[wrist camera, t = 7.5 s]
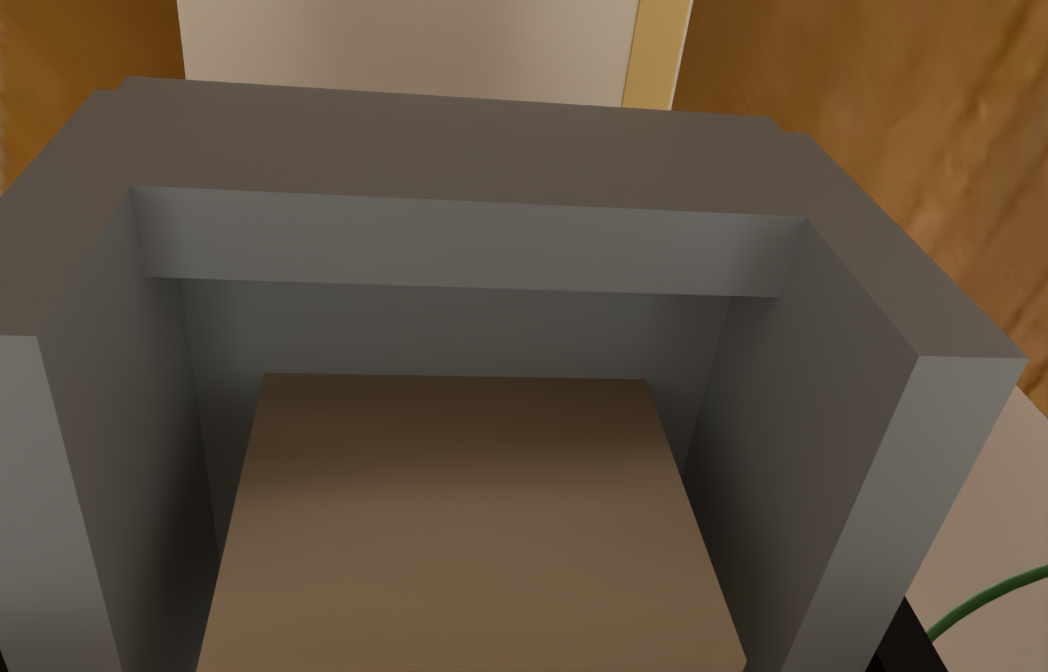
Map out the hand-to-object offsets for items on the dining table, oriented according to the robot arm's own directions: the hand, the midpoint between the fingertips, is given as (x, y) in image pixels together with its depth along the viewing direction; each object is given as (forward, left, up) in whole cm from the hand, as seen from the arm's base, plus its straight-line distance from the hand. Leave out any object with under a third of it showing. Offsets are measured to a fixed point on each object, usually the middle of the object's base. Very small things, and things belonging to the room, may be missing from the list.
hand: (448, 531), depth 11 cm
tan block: (0, 0, 0) cm, 0 cm away
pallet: (0, 0, -2) cm, 2 cm away
